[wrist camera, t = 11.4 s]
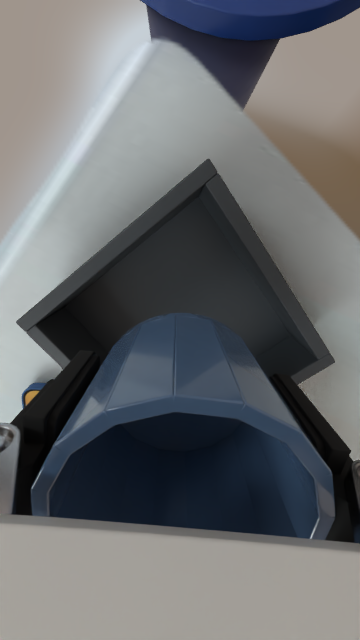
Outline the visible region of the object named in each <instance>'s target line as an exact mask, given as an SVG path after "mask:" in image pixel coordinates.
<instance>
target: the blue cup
mask: <svg viewBox="0 0 360 640" xmlns="http://www.w3.org/2000/svg"><path fill="white" fill-rule="evenodd" d="M30 493H31V508H32V516H43V517H58V518H70V519H83V520H96V521H108V522H121V523H133V524H146V525H158V526H170V527H181V528H193V529H205V530H216V531H228V532H239V533H251V534H262V535H273V536H284V537H295V538H306V539H316V540H326V538H327V536H328V533H329V531H330V529H331V527H332V525H333V523H334V521H335V519H336V517H335V516H336V509H335V498H334V487H333V476H332V472H331V469H330V468H329V466H328V465H327V463H326V462H325V460H324V459H323V457H322V456H321V454H320V453H319V451H318V450H317V448H316V447H315V445H314V444H313V442H312V441H311V439H310V438H309V436H308V435H307V433H306V432H305V430H304V429H303V427H302V426H301V424H300V423H299V421H298V420H297V418H296V417H295V415H294V414H293V412H292V411H291V409H290V408H289V406H288V405H287V403H286V402H285V400H284V399H283V397H282V396H281V394H280V393H279V391H278V390H277V388H276V387H275V385H274V384H273V382H272V381H271V379H270V378H269V376H268V375H267V373H266V372H265V370H264V369H263V367H262V366H261V364H260V363H259V361H258V360H257V358H256V357H255V356H254V354H253V353H252V351H251V350H250V349H249V347H248V346H247V344H246V343H245V342H244V340H243V339H242V338H241V337H240V336H239V335H238V334H237V333H236V332H235V331H233V330H232V329H231V328H229V327H228V326H226V325H225V324H223V323H221V322H219V321H217V320H215V319H212V318H209V317H206V316H203V315H198V314H193V313H170V314H165V315H159V316H156V317H153V318H150V319H148V320H145V321H143V322H141V323H139V324H138V325H136V326H134V327H133V328H131V329H130V330H129V331H128V332H126V333H125V334H124V335H123V336H122V337H121V338H120V339H119V340H118V342H117V343H115V345H114V346H113V347H112V349H111V351H110V352H109V354H108V355H107V357H106V359H105V360H104V362H103V364H102V365H101V367H100V369H99V370H98V372H97V374H96V375H95V377H94V379H93V380H92V382H91V384H90V385H89V387H88V389H87V390H86V392H85V393H84V395H83V397H82V398H81V400H80V402H79V403H78V405H77V407H76V408H75V410H74V412H73V413H72V415H71V417H70V418H69V420H68V422H67V423H66V425H65V427H64V428H63V430H62V431H61V433H60V435H59V436H58V438H57V440H56V441H55V443H54V445H53V446H52V448H51V450H50V452H49V454H48V456H47V458H46V459H45V461H44V463H43V465H42V467H41V469H40V471H39V472H38V474H37V476H36V478H35V480H34V482H33V484H32V485H31V490H30Z"/></svg>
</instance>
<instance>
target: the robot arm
mask: <svg viewBox="0 0 360 640" xmlns="http://www.w3.org/2000/svg"><path fill="white" fill-rule="evenodd" d="M99 369H100V356H97V355H96V353H95V352H93V351H84V350H80V351H79V352H78V353H77V355H76V356H75V357H74V358H73V359H72V360H71V361H70V363H69V364H68V365H67V366H66V367H65V368H64V369H63V370H62V372H61V373H60V374H59V375H58V376H57V377H56V378H55V379H52V380H50V381H48V382H47V383H46V385H45V386H44V387H43V388H42V389H41V390H40V391H39V392H38V393H37V394H36V396H35V397H34V398H33V399H32V400H31V401H30V402H29V403H28V404H27V405H26V406H25V408H24V409H23V410H22V411H21V412H20V413H19V414H18V415H17V416H16V417H15V419H14V420H13V421H12V422H11V423H10V424H9V423H0V640H360V460H357V461H354V462H353V460H352V459H351V458H350V457H349V454H350V452H351V450H350V449H349V448H348V447H347V445H346V444H345V443H344V442H343V440H342V439H341V438H340V437H339V436H338V434H337V433H336V432H335V431H334V429H333V428H332V427H331V426H330V425H329V423H328V422H327V421H326V420H325V418H324V417H323V416H322V415H321V414H320V412H319V411H318V410H317V409H316V407H315V406H314V405H313V404H312V403H311V401H310V400H309V399H308V398H307V396H306V395H305V394H304V393H303V392H302V390H301V389H300V388H299V387H298V385H297V384H296V383H295V382H294V381H293V379H292V378H291V377H290V376H289V375H284V374H276V373H275V374H273V376H270V377H269V378H270V379H271V381H272V382H273V384H274V385H275V387H276V388H277V390H278V391H279V393H280V394H281V396H282V397H283V399H284V400H285V402H286V403H287V405H288V406H289V408H290V409H291V411H292V412H293V414H294V415H295V417H296V418H297V420H298V421H299V423H300V424H301V426H302V427H303V429H304V430H305V432H306V433H307V435H308V436H309V438H310V439H311V441H312V442H313V444H314V445H315V447H316V448H317V450H318V451H319V453H320V454H321V456H322V457H323V459H324V460H325V462H326V463H327V465H328V466H329V468H330V469H331V472H332V476H333V487H334V498H335V509H336V516H335V517H336V519H335V521H334V523H333V525H332V527H331V529H330V531H329V533H328V536H327V538H326V540H316V539H306V538H295V537H284V536H273V535H262V534H251V533H239V532H228V531H216V530H205V529H193V528H181V527H170V526H158V525H146V524H133V523H121V522H108V521H96V520H83V519H70V518H58V517H43V516H32V508H31V493H30V490H31V485H32V484H33V482H34V480H35V478H36V476H37V474H38V472H39V471H40V469H41V467H42V465H43V463H44V461H45V459H46V458H47V456H48V454H49V452H50V450H51V448H52V446H53V445H54V443H55V441H56V440H57V438H58V436H59V435H60V433H61V431H62V430H63V428H64V427H65V425H66V423H67V422H68V420H69V418H70V417H71V415H72V413H73V412H74V410H75V408H76V407H77V405H78V403H79V402H80V400H81V398H82V397H83V395H84V393H85V392H86V390H87V389H88V387H89V385H90V384H91V382H92V380H93V379H94V377H95V375H96V374H97V372H98V370H99Z"/></svg>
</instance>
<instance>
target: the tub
mask: <svg viewBox="0 0 360 640" xmlns="http://www.w3.org/2000/svg"><path fill="white" fill-rule="evenodd" d="M170 313H193V314H198V315H203V316H206V317H209V318H212V319H215V320H217V321H219V322H221V323H223V324H225V325H226V326H228V327H229V328H231V329H232V330H233V331H235V332H236V333H237V334H238V335H239V336H240V337H241V338H242V339H243V340H244V342H245V343H246V344H247V346H248V347H249V349H250V350H251V351H252V353H253V354H254V356H255V357H256V358H257V360H258V361H259V363H260V364H261V366H262V367H263V369H264V370H265V372H266V373H267V375H268V376H269V377H270V376H273V374H275V373H276V374H284V375H289V376H290V377H291V378H292V379H293V381H294V382H295V383H296V384H297V385H298V384H299V383H301V382H303V381H304V380H306V379H308V378H309V377H311V376H313V375H314V374H316V373H318V372H320V371H321V370H323V369H325V368H326V367H328V366H330V365H331V364H333V363H335V360H334V359H333V357H332V356H331V354H330V353H329V351H328V349H327V347H326V346H325V344H324V342H323V341H322V339H321V338H320V336H319V334H318V333H317V331H316V330H315V328H314V326H313V325H312V323H311V322H310V320H309V318H308V317H307V315H306V313H305V312H304V310H303V309H302V307H301V305H300V304H299V302H298V301H297V299H296V297H295V296H294V294H293V293H292V291H291V289H290V288H289V286H288V284H287V283H286V281H285V280H284V278H283V276H282V275H281V273H280V272H279V270H278V268H277V267H276V265H275V263H274V262H273V260H272V259H271V257H270V255H269V254H268V252H267V251H266V249H265V247H264V246H263V244H262V243H261V241H260V239H259V238H258V236H257V234H256V233H255V231H254V230H253V228H252V226H251V225H250V223H249V222H248V220H247V218H246V217H245V215H244V214H243V212H242V210H241V209H240V207H239V205H238V204H237V202H236V201H235V199H234V197H233V196H232V194H231V193H230V191H229V189H228V188H227V186H226V184H225V183H224V181H223V180H222V178H221V176H220V175H219V174H217V170H216V169H215V167H214V165H213V164H212V162H211V161H210V159H207V160H206V161H204V162H203V163H202V164H201V165H200V166H199V167H197V168H196V169H195V170H194V171H193V172H191V173H190V174H189V175H188V176H187V177H186V178H184V179H183V180H182V181H181V182H180V183H179V184H177V185H176V186H175V187H174V188H173V189H171V190H170V191H169V192H168V193H167V194H166V195H164V196H163V197H162V198H161V199H160V200H159V201H157V202H156V203H155V204H154V205H153V206H151V207H150V208H149V209H148V210H147V211H146V212H144V213H143V214H142V215H141V216H140V217H139V218H137V219H136V220H135V221H134V222H133V223H131V224H130V225H129V226H128V227H127V228H126V229H124V230H123V231H122V232H121V233H120V234H119V235H117V236H116V237H115V238H114V239H113V240H111V241H110V242H109V243H108V244H107V245H106V246H104V247H103V248H102V249H101V250H100V251H99V252H97V253H96V254H95V255H94V256H93V257H91V258H90V259H89V260H88V261H87V262H86V263H84V264H83V265H82V266H81V267H80V268H79V269H77V270H76V271H75V272H74V273H73V274H71V275H70V276H69V277H68V278H67V279H66V280H64V281H63V282H62V283H61V284H60V285H59V286H57V287H56V288H55V289H54V290H53V291H51V292H50V293H49V294H48V295H47V296H46V297H44V298H43V299H42V300H41V301H40V302H39V303H37V304H36V305H35V306H34V307H33V308H31V309H30V310H29V311H28V312H27V313H26V314H24V315H23V316H22V317H21V318H20V319H19V320H17V321H16V323H17V324H18V325H19V326H20V327H21V328H22V329H23V330H24V331H25V332H27V334H28V335H29V336H30V337H31V338H32V339H33V340H34V341H35V342H36V343H37V344H38V345H39V346H40V347H41V348H42V349H43V350H44V351H45V352H46V353H48V354H49V355H50V356H51V357H52V358H53V359H54V360H55V361H56V362H57V363H58V364H59V365H60V366H61V367H62V368H63V369H64V368H65V367H66V366H67V365H68V364H69V363H70V361H71V360H72V359H73V358H74V357H75V356H76V355H77V353H78V352H79V351H80V350H84V351H93V352H95V353H96V355H97V356H100V367H101V365H102V364H103V362H104V360H105V359H106V357H107V355H108V354H109V352H110V351H111V349H112V347H113V346H114V345H115V343H117V342H118V340H119V339H120V338H121V337H122V336H123V335H124V334H125V333H126V332H128V331H129V330H130V329H131V328H133V327H134V326H136V325H138V324H139V323H141V322H143V321H145V320H148V319H150V318H153V317H156V316H159V315H165V314H170Z"/></svg>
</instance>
